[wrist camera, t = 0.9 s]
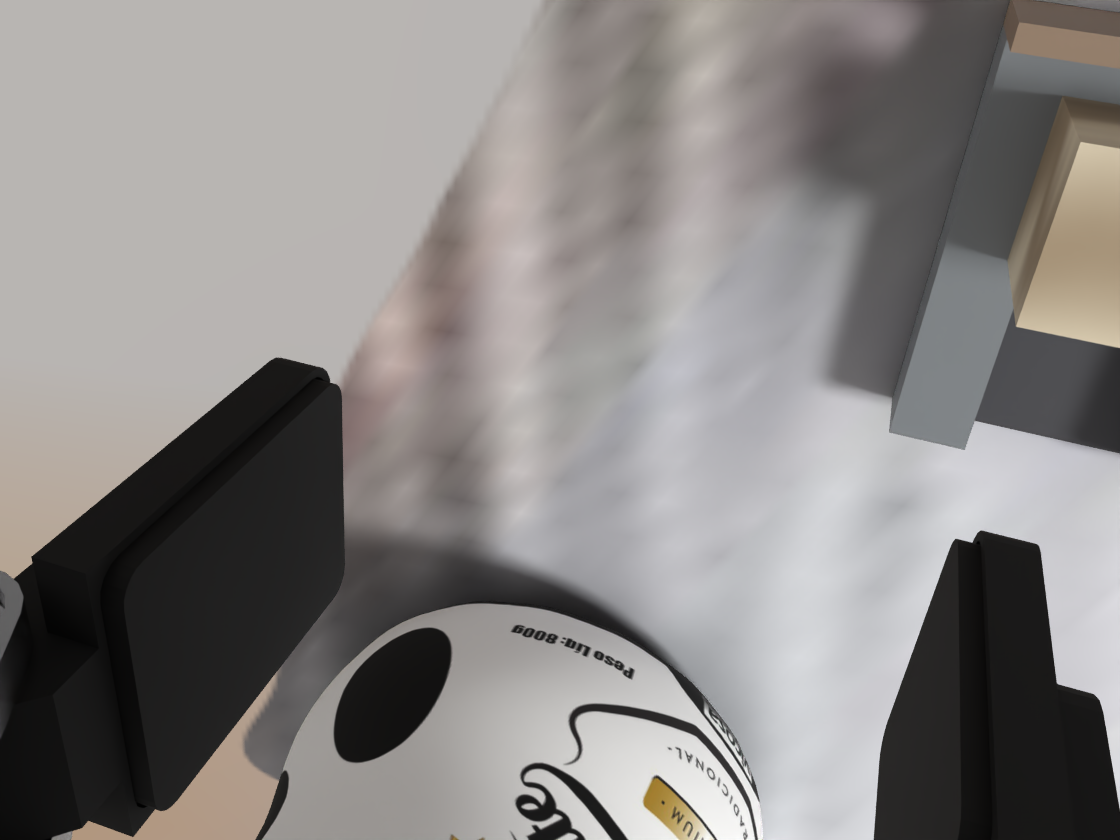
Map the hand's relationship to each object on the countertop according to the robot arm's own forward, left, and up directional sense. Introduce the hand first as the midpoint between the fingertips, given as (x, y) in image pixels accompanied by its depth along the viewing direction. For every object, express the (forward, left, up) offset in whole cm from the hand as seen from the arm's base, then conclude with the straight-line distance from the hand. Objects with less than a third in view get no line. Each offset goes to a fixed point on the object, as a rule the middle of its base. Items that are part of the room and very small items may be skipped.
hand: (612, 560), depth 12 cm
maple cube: (0, +8, -18) cm, 19 cm away
